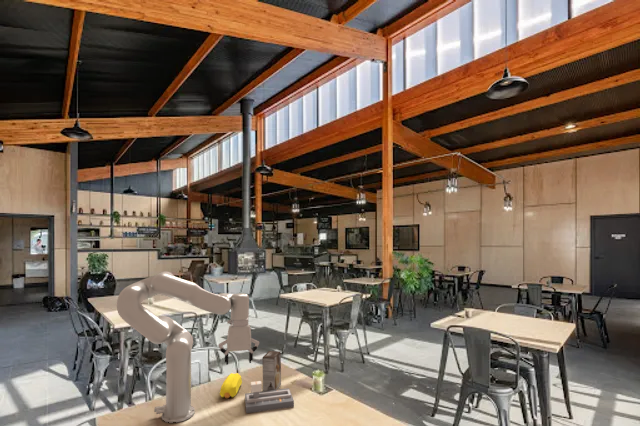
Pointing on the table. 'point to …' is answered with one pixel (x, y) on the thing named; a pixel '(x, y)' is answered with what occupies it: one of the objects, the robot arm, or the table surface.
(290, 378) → the table surface
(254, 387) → the fader tab
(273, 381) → the coffee box
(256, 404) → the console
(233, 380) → the yellow rounded capsule
